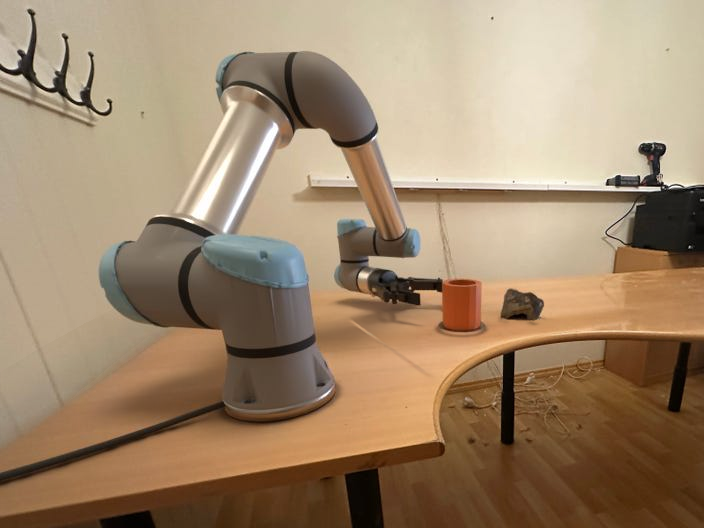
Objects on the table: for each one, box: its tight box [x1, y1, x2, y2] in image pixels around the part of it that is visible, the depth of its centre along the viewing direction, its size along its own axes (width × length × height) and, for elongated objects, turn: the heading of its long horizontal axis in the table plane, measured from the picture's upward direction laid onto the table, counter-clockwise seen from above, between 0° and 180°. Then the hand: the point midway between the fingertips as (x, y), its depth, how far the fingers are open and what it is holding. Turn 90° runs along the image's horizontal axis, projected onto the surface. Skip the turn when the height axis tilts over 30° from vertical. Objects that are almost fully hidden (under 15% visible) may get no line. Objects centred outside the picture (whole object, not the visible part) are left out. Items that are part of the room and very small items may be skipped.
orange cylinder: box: [441, 278, 483, 331], centre depth 93 cm, size 9×9×10 cm
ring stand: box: [438, 320, 486, 333], centre depth 93 cm, size 11×11×9 cm
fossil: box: [500, 288, 545, 321], centre depth 102 cm, size 11×9×10 cm
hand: (439, 294), depth 96 cm, fingers open, 13 cm apart
